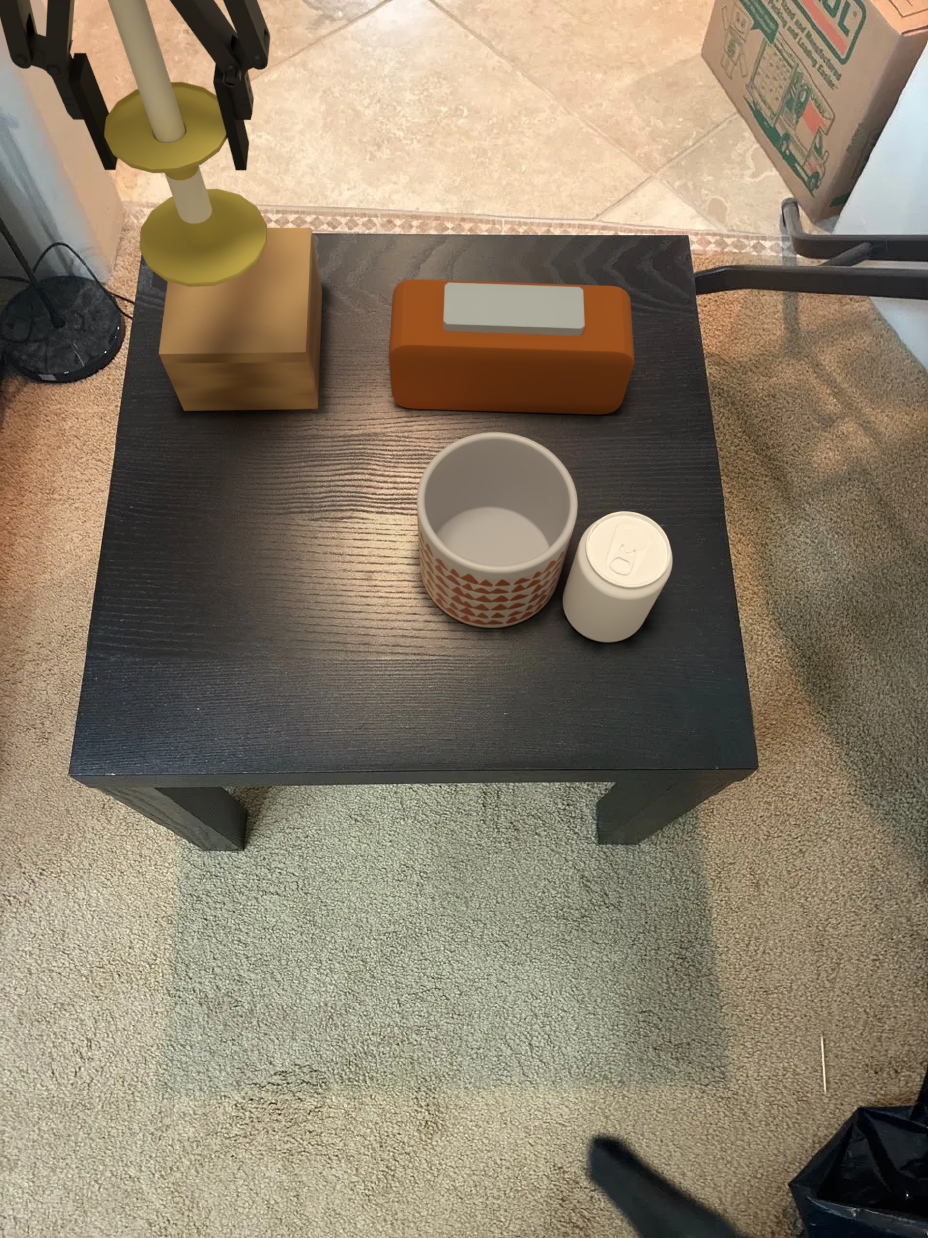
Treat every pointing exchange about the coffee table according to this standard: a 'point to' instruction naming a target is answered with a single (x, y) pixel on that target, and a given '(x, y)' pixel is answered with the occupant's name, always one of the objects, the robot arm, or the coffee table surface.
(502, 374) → the alarm clock
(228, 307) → the lidded tan carton
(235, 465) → the coffee table surface
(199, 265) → the candle
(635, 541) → the beverage can
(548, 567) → the planter
